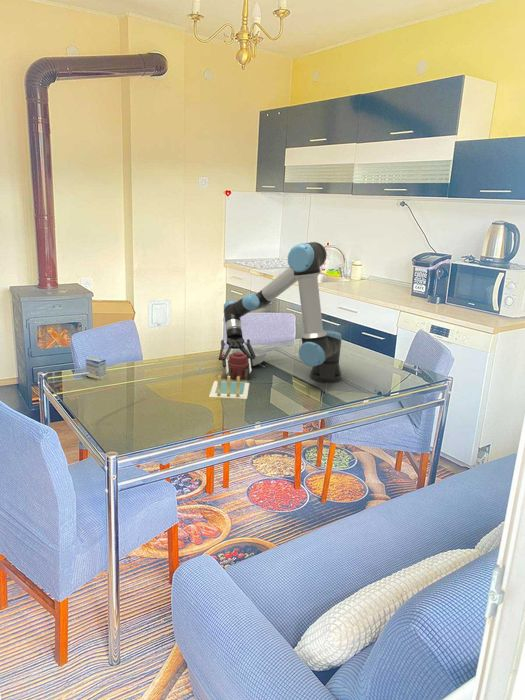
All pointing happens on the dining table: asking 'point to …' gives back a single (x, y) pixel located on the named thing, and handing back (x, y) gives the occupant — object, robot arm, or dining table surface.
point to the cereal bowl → (258, 352)
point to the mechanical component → (237, 365)
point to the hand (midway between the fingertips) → (238, 372)
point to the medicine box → (96, 366)
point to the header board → (243, 390)
